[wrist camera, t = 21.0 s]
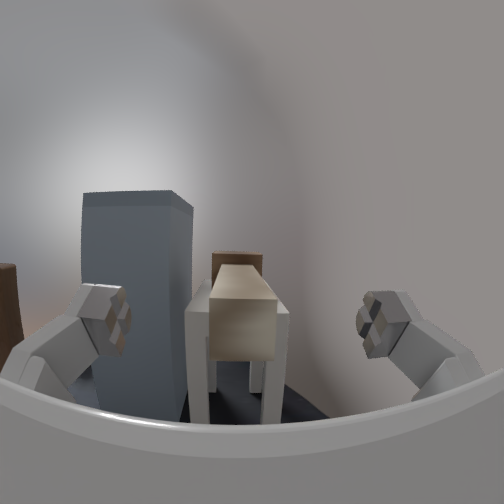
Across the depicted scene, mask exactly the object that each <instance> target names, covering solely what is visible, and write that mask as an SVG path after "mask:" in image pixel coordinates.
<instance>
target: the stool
mask: <svg viewBox="0 0 504 504" xmlns="http://www.w3.org/2000/svg"><path fill="white" fill-rule="evenodd" d="M265 283H266V282H265ZM266 284H267V283H266ZM267 285H268V284H267ZM268 287H269V286H268ZM269 288H270V287H269ZM270 290H271V288H270ZM211 291H212V280H204V281H203V283H202V284H201V286H200V287H199V289H198V291H197V292H196V294H195V295H194V297H193V298H192V300H191V301H190V303H189V305H188V306H187V308H186V309H185V311H184V314H185V347H186V368H187V384H188V398H189V410H190V421H191V423H194V424H210V415H209V392H216V388H217V384H216V361H213V360H209V297H210V294H211ZM271 291H272V290H271ZM272 292H273V291H272ZM273 294H274V292H273ZM274 295H275V294H274ZM275 296H276V295H275ZM276 298H277V299H278V297H277V296H276ZM289 315H290V314H289V312H288V311H287V309H286V308H285V307H284V305H283V304H282V303H281V301H280V300H279V299H278V304H277V323H276V340H275V356H274V361H264V368H263V361H250V387H249V388H250V393H261V392H262V403H261V420H260V425H267V424H280V421H281V412H282V402H283V392H284V381H285V369H286V356H287V344H288V330H289ZM262 374H263V386H262Z"/></svg>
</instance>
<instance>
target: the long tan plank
mask: <svg viewBox="0 0 504 504" xmlns="http://www.w3.org/2000/svg"><path fill="white" fill-rule="evenodd" d="M277 304H278V299H277V298H276V296H275V295H274V294H273V292H272V291H271V290H270V288H269V287H268V285H267V284H266V283H265V281H264V280H263V279H262V254H260V253H259V252H237V251H214V252H213V253H212V291H211V294H210V297H209V360H213V361H274V356H275V340H276V323H277Z"/></svg>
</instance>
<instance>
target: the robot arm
mask: <svg viewBox="0 0 504 504" xmlns="http://www.w3.org/2000/svg"><path fill="white" fill-rule="evenodd" d="M126 296H127V295H126V292H125V289H124V288H123V287H122V286H113V285H103V284H91V283H83V284H82V285H81V286H80V288H79V289H78V291H77V293H76V294H75V296H74V298H73V300H72V301H71V303H70V305H69V307H68V308H67V310H66V312H65V314H64V315H59V316H58V317H57V318H55V319H53V320H52V321H50V322H49V323H47V324H46V325H45V326H43V327H42V328H40V329H39V330H37V331H36V332H34V333H33V334H32V335H30V336H29V337H27V338H26V339H25V340H23V341H22V342H20V343H19V344H18V345H16V346H15V347H13V349H12V351H11V353H10V355H9V357H8V359H7V361H6V363H5V365H4V367H3V369H2V371H1V373H0V504H504V367H503V368H501V369H499V370H497V371H495V372H493V373H491V374H488V375H486V376H485V374H484V372H483V370H482V369H481V367H480V365H479V363H478V361H477V360H476V358H475V356H474V354H473V352H472V351H471V350H470V349H468V348H467V347H466V346H464V345H463V344H461V343H460V342H459V341H457V340H456V339H454V338H453V337H451V336H450V335H449V334H447V333H446V332H444V331H443V330H441V329H440V328H438V327H437V326H435V325H434V324H432V323H431V322H430V321H428V320H424V319H423V318H422V316H421V314H420V312H419V311H418V309H417V308H416V306H415V304H414V303H413V301H412V300H411V298H410V297H409V295H408V294H407V292H406V291H405V290H392V291H368V292H367V293H366V294H365V296H364V298H363V302H364V304H365V305H364V306H362V307H361V308H360V309H359V311H358V314H357V316H356V327H357V331H358V334H359V335H360V336H361V337H362V338H364V342H363V347H364V349H365V352H366V355H367V357H368V359H371V358H380V357H388V358H389V359H390V360H391V361H392V362H393V363H394V364H395V365H396V366H397V367H398V368H399V369H400V370H401V371H402V372H403V373H404V374H405V375H406V376H407V377H408V378H409V379H410V380H411V381H412V382H413V383H414V384H415V385H416V386H417V387H418V388H419V389H420V390H419V391H418V392H417V393H416V394H415V395H414V396H413V398H412V402H410V403H407V404H403V405H399V406H395V407H391V408H386V409H382V410H378V411H373V412H368V413H363V414H357V415H352V416H346V417H340V418H333V419H325V420H317V421H308V422H298V423H285V424H267V425H213V424H194V423H182V422H171V421H162V420H154V419H147V418H140V417H134V416H128V415H123V414H118V413H113V412H108V411H103V410H99V409H94V408H90V407H86V406H82V405H78V404H76V400H75V398H74V397H73V396H72V395H71V394H70V392H69V391H68V390H67V388H68V387H69V386H70V385H71V384H72V383H73V382H74V381H75V380H76V379H77V378H78V377H79V376H80V375H81V374H82V373H83V372H84V371H85V370H86V369H87V368H88V367H89V366H90V365H91V364H92V363H93V362H94V361H95V360H96V359H97V358H98V357H99V355H104V356H112V357H120V358H121V356H122V352H123V349H124V346H125V343H126V342H125V339H124V336H125V335H126V334H127V333H129V330H130V327H131V319H132V316H131V309H130V306H129V305H128V304H127V303H126V302H125V299H126Z"/></svg>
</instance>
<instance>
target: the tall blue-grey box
mask: <svg viewBox="0 0 504 504" xmlns="http://www.w3.org/2000/svg"><path fill="white" fill-rule="evenodd" d="M81 227H82V228H81V275H82V284H83V283H91V284H103V285H113V286H122V287H123V288H124V289H125V292H126V295H127V296H126V299H125V302H126V303H127V304H128V305H129V306H130V309H131V316H132V319H131V327H130V330H129V333H127V334H126V335H125V336H124V339H125V342H126V343H125V346H124V349H123V352H122V356H121V358H120V357H112V356H104V355H99V357H98V358H97V359H96V360H95V361H94V362H93V363H92V364H91V368H92V373H93V378H94V383H95V388H96V392H97V397H98V401H99V405H100V409H101V410H103V411H108V412H113V413H118V414H123V415H128V416H134V417H140V418H147V419H154V420H162V421H171V422H179V421H180V417H181V413H182V409H183V405H184V402H185V398H186V394H187V390H188V384H187V368H186V347H185V314H184V311H185V309H186V308H187V306H188V305H189V303H190V301H191V300H192V235H193V207H192V206H191V205H190V204H189V203H187V202H186V201H185V200H183V199H182V198H181V197H180V196H178V195H177V194H176V193H174V192H173V191H172V190H166V191H165V190H164V191H163V190H160V191H116V192H93V193H83V207H82V226H81Z"/></svg>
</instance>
